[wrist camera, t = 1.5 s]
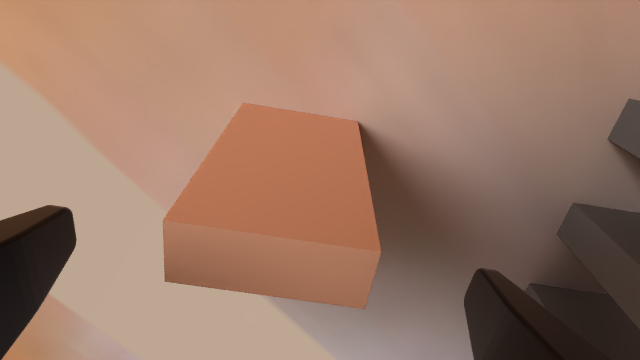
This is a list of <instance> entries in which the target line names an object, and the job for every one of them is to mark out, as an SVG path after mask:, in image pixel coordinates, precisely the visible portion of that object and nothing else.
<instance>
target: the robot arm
mask: <svg viewBox="0 0 640 360" xmlns="http://www.w3.org/2000/svg"><path fill="white" fill-rule="evenodd" d="M75 246H76V233H75V226H74V221H73V214H72V212H71V210H70V209H68V208H67V207H60V206H54V205H47V206H44V207H41V208H38V209H35V210H31V211H29V212H25V213H22V214H19V215H16V216H13V217H10V218H7V219H4V220H1V221H0V360H2V358H3V357H4V356H5V354H6V353H7V351H8V350H9V349H10V347H11V346H12V345H13V343H14V342H15V341H16V339H17V338H18V337H19V335H20V334H21V333H22V331H23V330H24V329H25V327H26V326H27V325H28V323H29V322H30V320H31V319H32V318H33V316H34V315H35V313H36V312H37V311H38V309H39V307H40V306H41V304H42V303H43V301H44V300H45V298H46V296H47V295H48V293H49V291H50V289H51V288H52V286H53V284H54V283H55V281H56V279H57V278H58V276H59V274H60V273H61V271H62V269H63V268H64V266H65V264H66V262H67V261H68V259H69V257H70V255H71V254H72V252H73V251H74V248H75ZM464 307H465V312H466V318H467V324H468V329H469V335H470V340H471V346H472V352H473V357H474V360H611V359H610V358H609V357H608V356H606V355H605V354H604V353H602V352H601V351H600V350H599V349H597V348H596V347H595V346H593V345H592V344H591V343H590V342H588V341H587V340H586V339H584V338H583V337H582V336H581V335H579V334H578V333H577V332H575V331H574V330H573V329H572V328H570V327H569V326H568V325H566V324H565V323H564V322H563V321H561V320H560V319H559V318H557V317H556V316H555V315H554V314H552V313H551V312H550V311H548V310H547V309H546V308H545V307H543V306H542V305H541V304H539V303H538V302H537V301H536V300H534V299H533V298H532V297H530V296H529V295H528V294H527V293H525V292H524V291H523V290H521V289H520V288H519V287H518V286H516V285H515V284H514V283H512V282H511V281H510V280H509V279H507V278H506V277H505V276H503V275H502V274H501V273H500V272H498V271H496V270H490V269H483V268H480V269H478V270H477V271H476V272H475V274H474V276H473V278H472V280H471V283H470V285H469V287H468V289H467V292H466V294H465V298H464Z"/></svg>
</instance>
